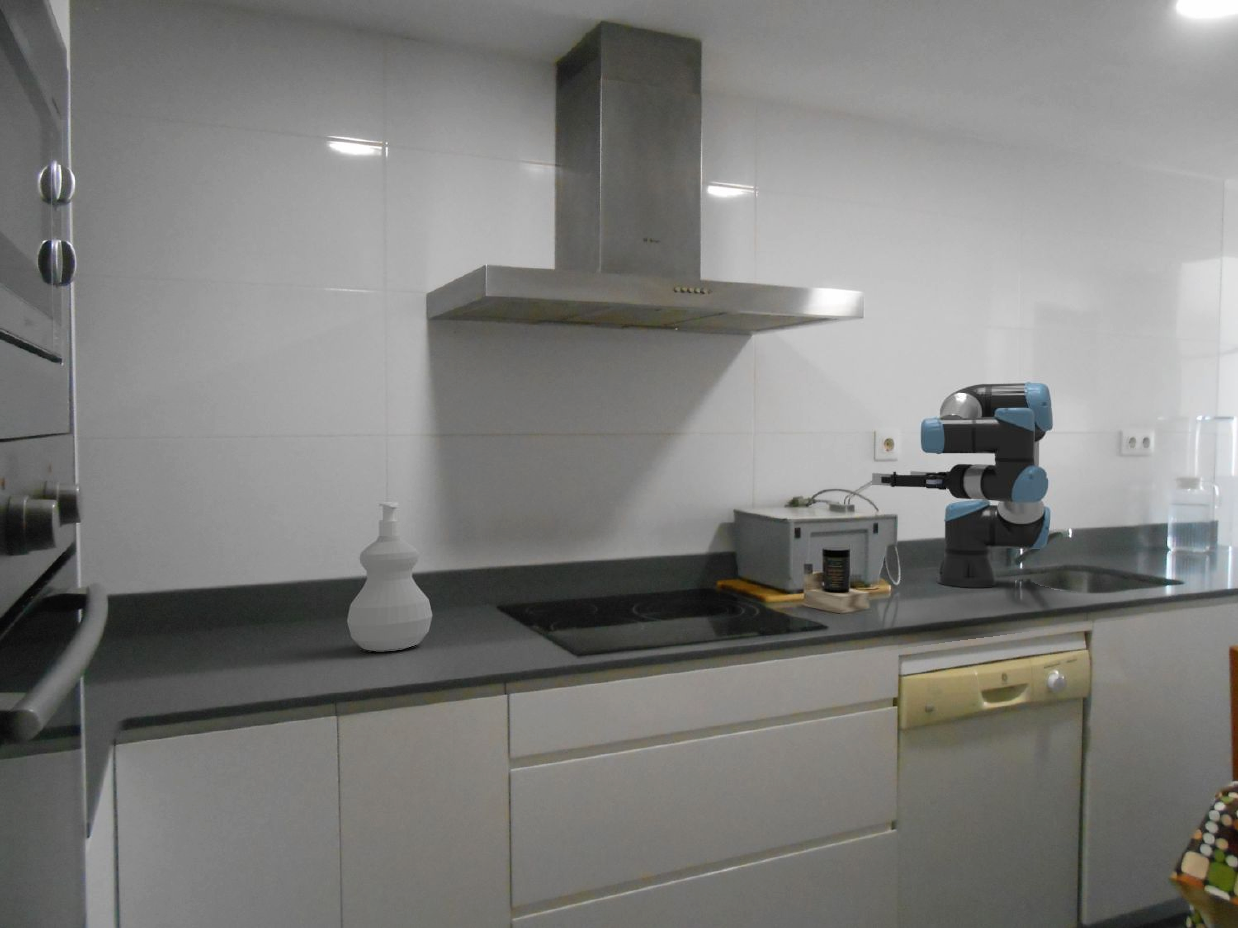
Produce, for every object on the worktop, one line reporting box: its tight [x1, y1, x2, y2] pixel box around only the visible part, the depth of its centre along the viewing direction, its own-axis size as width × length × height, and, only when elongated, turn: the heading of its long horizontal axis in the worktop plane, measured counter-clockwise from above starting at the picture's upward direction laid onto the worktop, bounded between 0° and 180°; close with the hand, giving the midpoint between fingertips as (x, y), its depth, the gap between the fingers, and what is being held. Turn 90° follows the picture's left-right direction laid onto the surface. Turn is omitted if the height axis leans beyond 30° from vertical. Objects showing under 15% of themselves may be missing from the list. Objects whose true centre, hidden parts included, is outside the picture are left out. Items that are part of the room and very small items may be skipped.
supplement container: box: [821, 546, 851, 593], centre depth 221 cm, size 7×7×10 cm
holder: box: [803, 562, 871, 614], centre depth 221 cm, size 10×12×10 cm
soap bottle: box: [346, 501, 433, 650], centre depth 181 cm, size 17×12×29 cm
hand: (892, 477), depth 212 cm, fingers open, 13 cm apart
